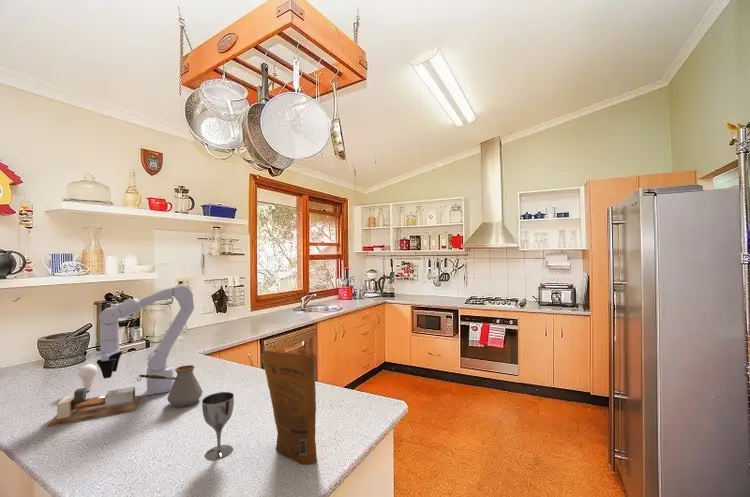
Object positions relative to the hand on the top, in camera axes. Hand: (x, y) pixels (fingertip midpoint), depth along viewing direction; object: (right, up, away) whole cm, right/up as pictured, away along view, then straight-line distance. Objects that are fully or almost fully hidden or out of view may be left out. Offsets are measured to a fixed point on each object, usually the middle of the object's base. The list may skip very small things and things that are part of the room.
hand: (110, 374), depth 128 cm
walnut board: (+3, -10, -9) cm, 13 cm away
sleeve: (+9, -10, -6) cm, 14 cm away
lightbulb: (-17, -11, +9) cm, 22 cm away
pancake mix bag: (+80, -8, -38) cm, 89 cm away
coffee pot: (+28, -9, -8) cm, 31 cm away
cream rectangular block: (-5, -10, -13) cm, 17 cm away
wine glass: (+59, -8, -36) cm, 70 cm away
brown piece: (+1, -8, -10) cm, 13 cm away
